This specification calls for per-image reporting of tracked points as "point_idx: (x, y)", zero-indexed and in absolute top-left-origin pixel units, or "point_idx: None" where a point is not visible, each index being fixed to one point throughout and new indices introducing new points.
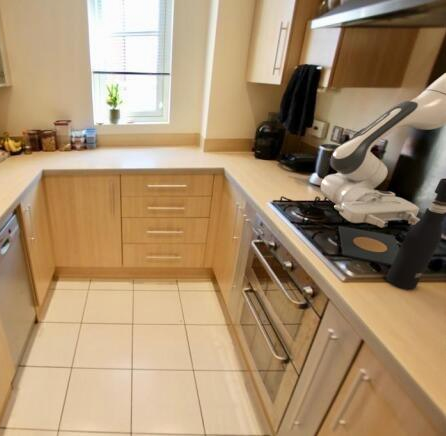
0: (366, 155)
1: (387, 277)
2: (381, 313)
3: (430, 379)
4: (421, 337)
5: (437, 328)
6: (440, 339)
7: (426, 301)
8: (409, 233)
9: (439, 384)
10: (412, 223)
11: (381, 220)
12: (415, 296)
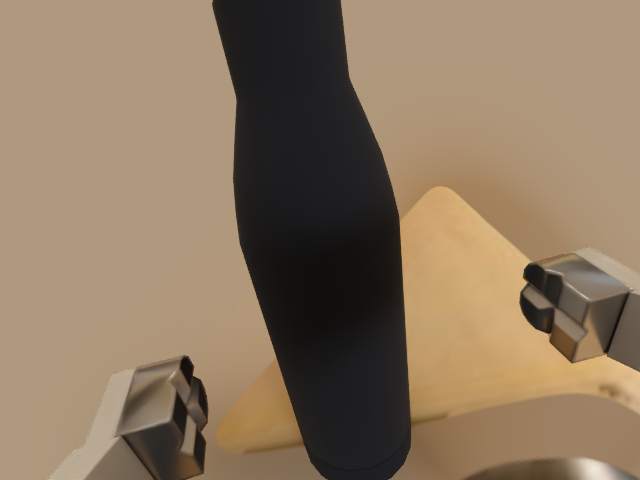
0: None
1: (410, 433)
2: (479, 278)
3: (436, 196)
4: (412, 244)
5: None
6: None
7: None
8: (392, 203)
9: (427, 194)
10: (203, 400)
11: (610, 265)
12: None
